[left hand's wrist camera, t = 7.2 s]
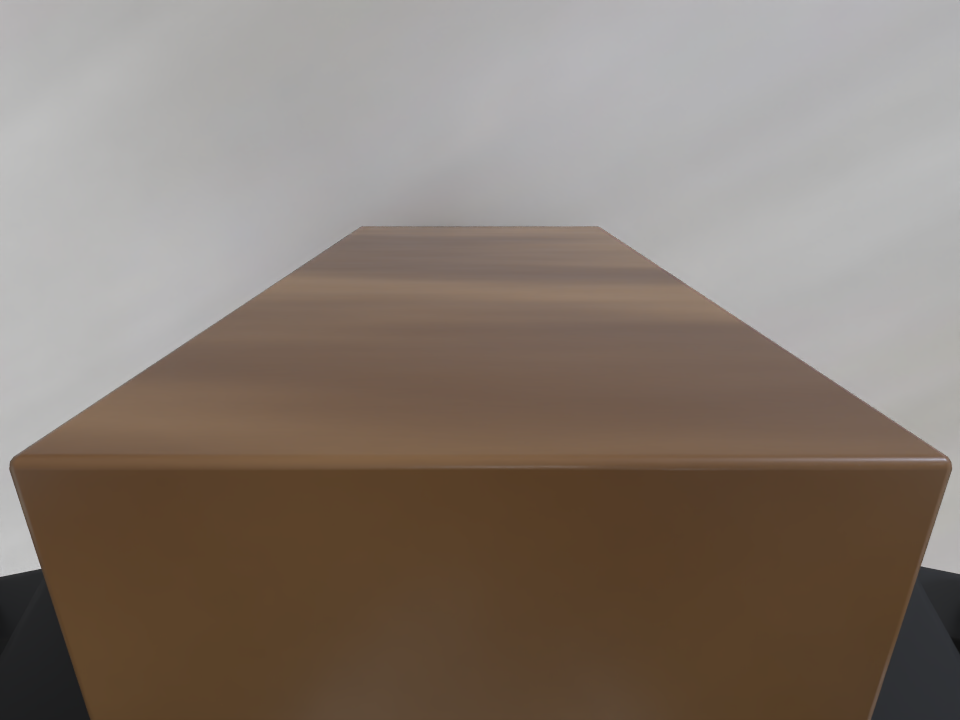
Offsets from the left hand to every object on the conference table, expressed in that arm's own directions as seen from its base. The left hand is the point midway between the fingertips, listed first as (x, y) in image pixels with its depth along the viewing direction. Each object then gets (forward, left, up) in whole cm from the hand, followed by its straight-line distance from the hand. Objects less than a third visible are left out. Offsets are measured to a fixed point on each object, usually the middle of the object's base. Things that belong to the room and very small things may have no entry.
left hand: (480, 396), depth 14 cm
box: (+8, +2, -2) cm, 9 cm away
